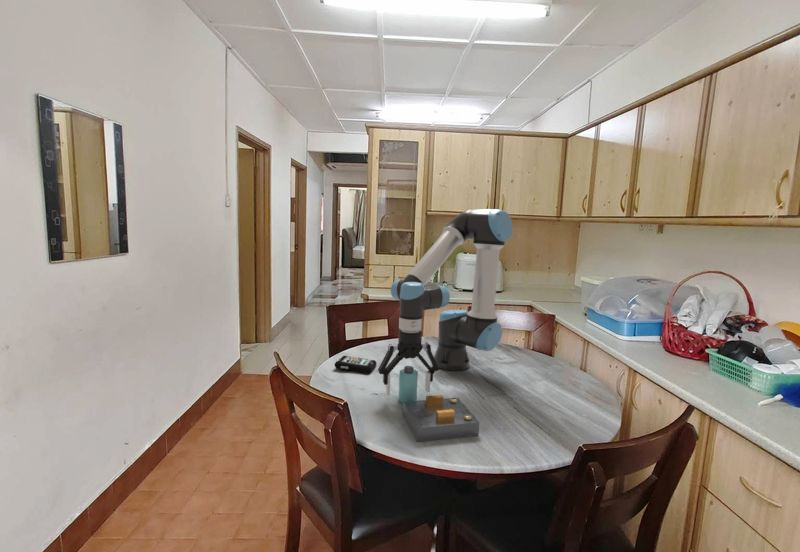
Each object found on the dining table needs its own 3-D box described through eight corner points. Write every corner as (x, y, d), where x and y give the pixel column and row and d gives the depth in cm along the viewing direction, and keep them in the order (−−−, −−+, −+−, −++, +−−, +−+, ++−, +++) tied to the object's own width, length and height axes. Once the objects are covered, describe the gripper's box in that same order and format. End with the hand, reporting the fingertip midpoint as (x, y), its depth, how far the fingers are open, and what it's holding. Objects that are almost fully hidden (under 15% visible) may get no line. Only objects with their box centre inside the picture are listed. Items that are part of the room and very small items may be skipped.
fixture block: (457, 409, 129) (458, 390, 128) (478, 435, 114) (479, 413, 113) (402, 414, 125) (403, 394, 124) (417, 441, 110) (418, 419, 109)
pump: (413, 396, 138) (415, 363, 137) (418, 403, 132) (420, 370, 131) (396, 397, 137) (397, 364, 135) (401, 405, 131) (402, 371, 129)
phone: (370, 375, 156) (370, 364, 155) (332, 371, 158) (333, 360, 158) (376, 366, 166) (377, 355, 165) (341, 362, 169) (341, 352, 168)
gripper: (374, 334, 125) (372, 399, 127) (450, 331, 131) (447, 394, 134) (370, 327, 132) (368, 389, 135) (442, 325, 138) (439, 385, 141)
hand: (407, 392), depth 134 cm, fingers open, 13 cm apart
